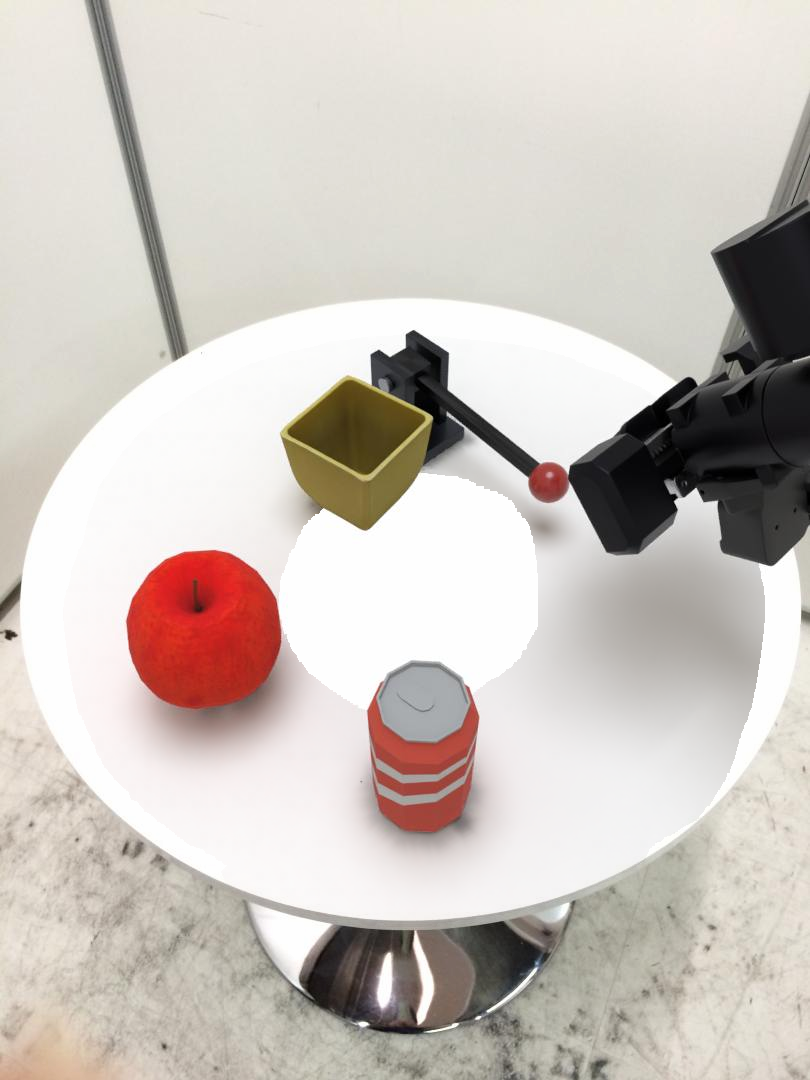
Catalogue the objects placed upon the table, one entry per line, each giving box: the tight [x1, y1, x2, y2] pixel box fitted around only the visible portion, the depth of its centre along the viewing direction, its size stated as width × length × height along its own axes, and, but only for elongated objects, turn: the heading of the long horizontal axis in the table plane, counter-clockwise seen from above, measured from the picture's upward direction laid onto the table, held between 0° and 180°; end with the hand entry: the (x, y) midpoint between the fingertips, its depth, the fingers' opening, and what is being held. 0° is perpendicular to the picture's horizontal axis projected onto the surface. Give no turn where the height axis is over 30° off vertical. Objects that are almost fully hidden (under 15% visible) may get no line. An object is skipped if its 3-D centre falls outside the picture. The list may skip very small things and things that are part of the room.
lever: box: [390, 346, 571, 504], centre depth 71 cm, size 19×3×3 cm, turn 43°
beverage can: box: [366, 659, 480, 833], centre depth 53 cm, size 6×6×12 cm
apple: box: [125, 549, 282, 711], centre depth 58 cm, size 10×10×12 cm
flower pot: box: [279, 374, 433, 532], centre depth 70 cm, size 9×9×9 cm
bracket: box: [369, 329, 465, 465], centre depth 76 cm, size 8×6×9 cm
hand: (604, 456), depth 61 cm, fingers closed
